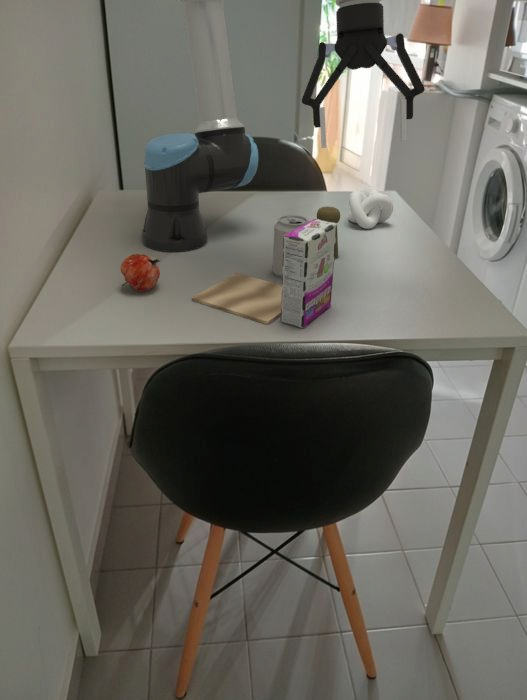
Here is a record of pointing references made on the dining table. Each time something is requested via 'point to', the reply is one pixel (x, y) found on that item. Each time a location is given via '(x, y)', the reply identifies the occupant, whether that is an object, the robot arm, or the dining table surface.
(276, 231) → the can
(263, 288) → the wooden board
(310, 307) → the candy bar box
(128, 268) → the pomegranate
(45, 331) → the dining table surface
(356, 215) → the white knot sculpture
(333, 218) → the pepper shaker
